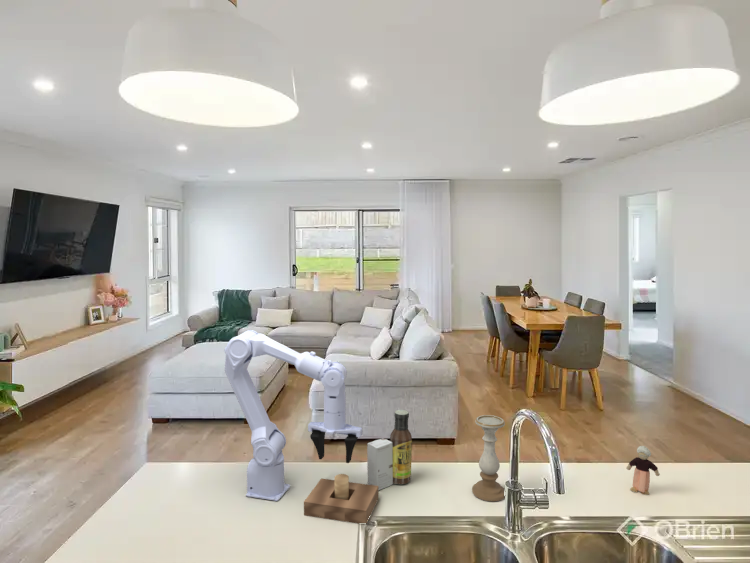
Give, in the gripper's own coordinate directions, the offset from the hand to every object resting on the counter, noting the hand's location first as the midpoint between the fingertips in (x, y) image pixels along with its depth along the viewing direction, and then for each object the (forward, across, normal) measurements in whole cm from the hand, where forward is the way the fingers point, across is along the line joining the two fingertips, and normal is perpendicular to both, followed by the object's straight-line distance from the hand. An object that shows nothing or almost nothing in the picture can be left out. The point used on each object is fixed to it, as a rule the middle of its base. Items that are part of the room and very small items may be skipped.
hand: (335, 459), depth 127 cm
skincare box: (+10, +10, +8) cm, 17 cm away
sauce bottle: (+10, +15, +12) cm, 22 cm away
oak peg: (+10, +4, -5) cm, 12 cm away
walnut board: (+10, +4, -5) cm, 12 cm away
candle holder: (+10, +40, +12) cm, 42 cm away
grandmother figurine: (+10, +79, +24) cm, 83 cm away
